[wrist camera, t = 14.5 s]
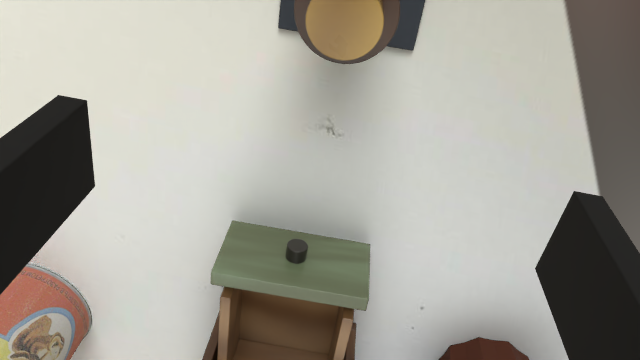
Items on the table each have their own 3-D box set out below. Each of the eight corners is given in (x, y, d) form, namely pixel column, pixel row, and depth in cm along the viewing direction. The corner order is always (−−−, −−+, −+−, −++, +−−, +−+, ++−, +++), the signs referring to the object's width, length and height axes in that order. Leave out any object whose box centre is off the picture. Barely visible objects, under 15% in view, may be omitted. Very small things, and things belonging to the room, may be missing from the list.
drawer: (232, 208, 42) (211, 259, 37) (373, 232, 42) (372, 287, 36) (225, 332, 50) (207, 389, 44) (343, 353, 50) (339, 413, 44)
